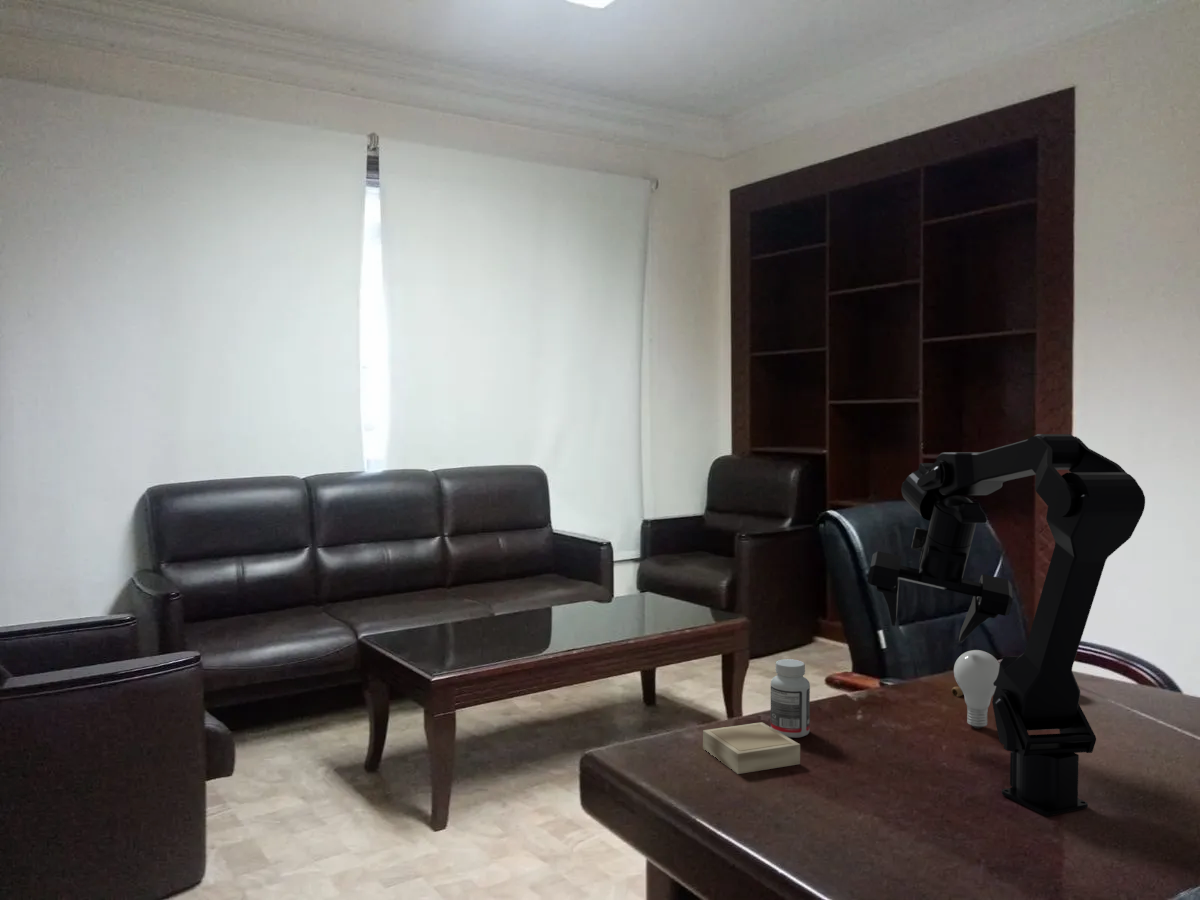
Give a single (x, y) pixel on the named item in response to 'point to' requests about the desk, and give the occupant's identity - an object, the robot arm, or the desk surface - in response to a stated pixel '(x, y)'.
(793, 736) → the pill bottle
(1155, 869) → the desk surface
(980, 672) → the lightbulb
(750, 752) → the plinth
